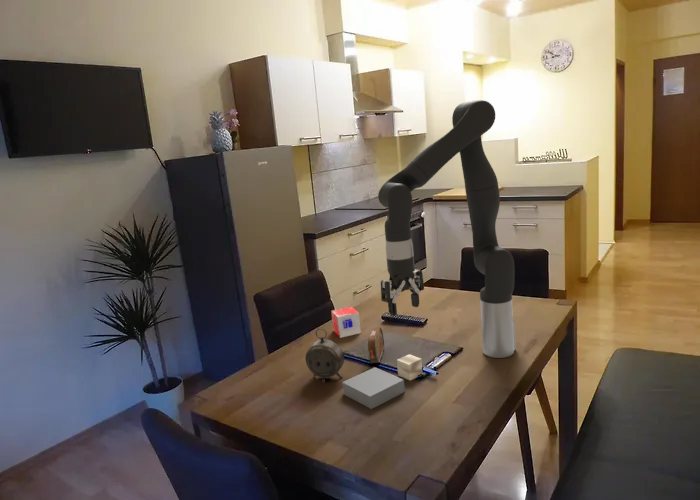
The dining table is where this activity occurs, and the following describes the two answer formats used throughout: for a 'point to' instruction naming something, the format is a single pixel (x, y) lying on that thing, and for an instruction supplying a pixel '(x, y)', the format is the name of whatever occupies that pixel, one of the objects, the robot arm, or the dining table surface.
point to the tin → (375, 344)
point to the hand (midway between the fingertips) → (404, 310)
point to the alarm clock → (324, 358)
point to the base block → (373, 387)
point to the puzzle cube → (346, 321)
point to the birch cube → (409, 367)
